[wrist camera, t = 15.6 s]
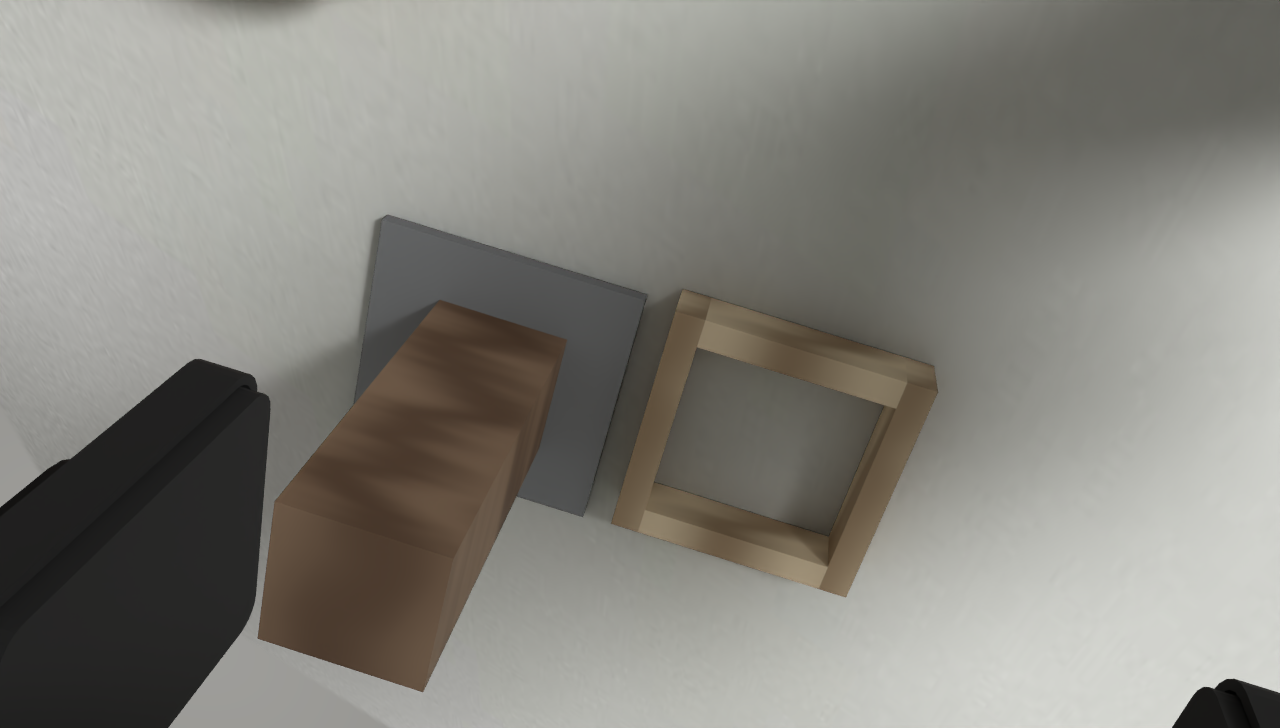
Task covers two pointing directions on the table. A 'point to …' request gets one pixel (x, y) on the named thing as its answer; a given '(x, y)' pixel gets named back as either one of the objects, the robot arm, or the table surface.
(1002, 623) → the table surface
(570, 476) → the mat
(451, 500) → the walnut block
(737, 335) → the pocket
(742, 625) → the table surface
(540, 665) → the table surface
